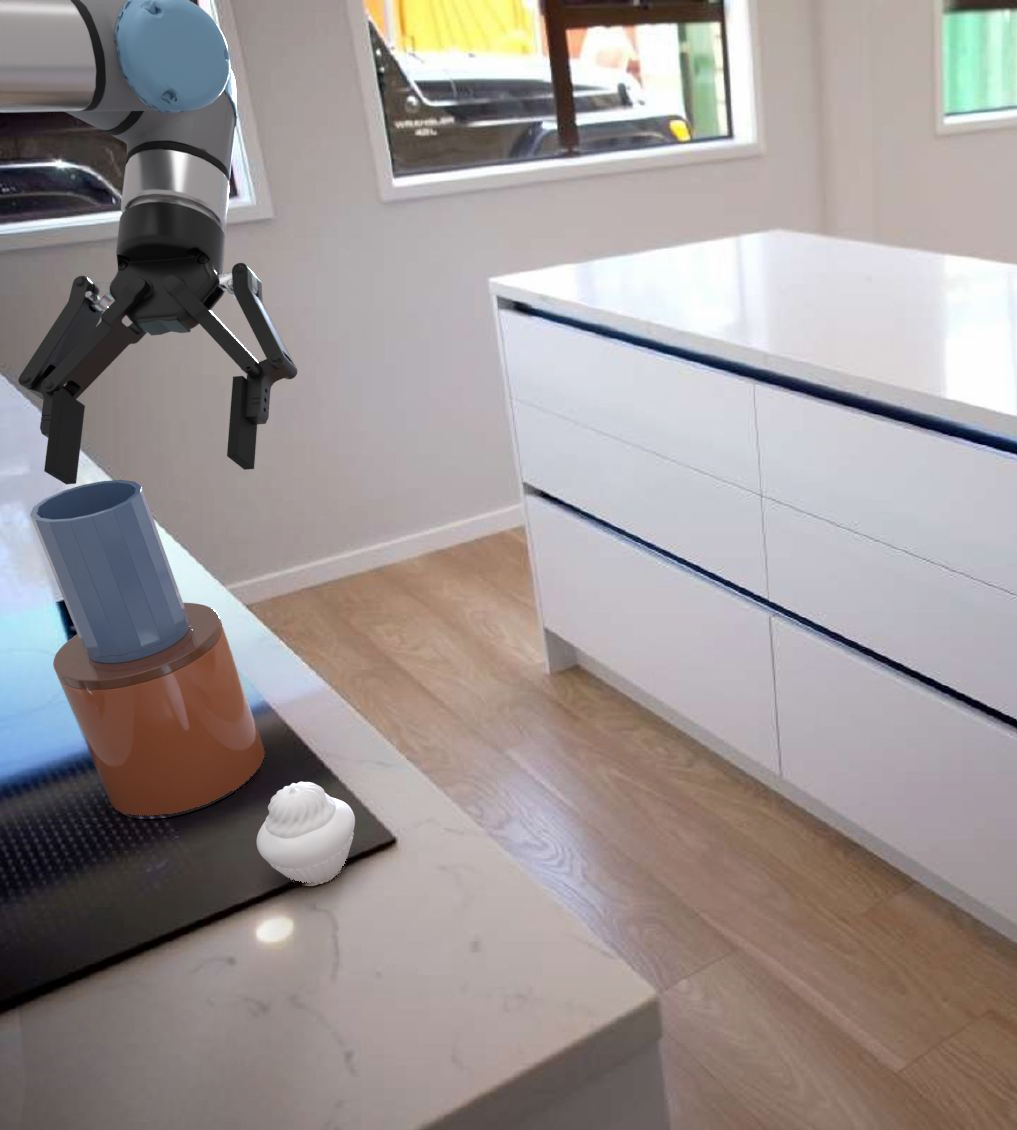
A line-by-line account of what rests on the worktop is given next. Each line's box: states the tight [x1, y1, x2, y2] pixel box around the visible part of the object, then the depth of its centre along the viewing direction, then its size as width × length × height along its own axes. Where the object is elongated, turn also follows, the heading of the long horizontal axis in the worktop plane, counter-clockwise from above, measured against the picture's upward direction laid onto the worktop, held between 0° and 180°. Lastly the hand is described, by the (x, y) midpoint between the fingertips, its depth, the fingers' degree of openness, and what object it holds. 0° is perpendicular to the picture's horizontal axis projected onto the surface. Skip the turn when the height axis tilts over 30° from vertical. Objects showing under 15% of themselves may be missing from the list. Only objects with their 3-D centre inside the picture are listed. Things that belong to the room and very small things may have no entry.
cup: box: [29, 479, 190, 663], centre depth 90 cm, size 7×7×11 cm
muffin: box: [256, 781, 356, 883], centre depth 85 cm, size 6×6×7 cm
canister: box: [52, 602, 266, 816], centre depth 95 cm, size 11×11×12 cm
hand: (150, 470), depth 96 cm, fingers open, 13 cm apart
